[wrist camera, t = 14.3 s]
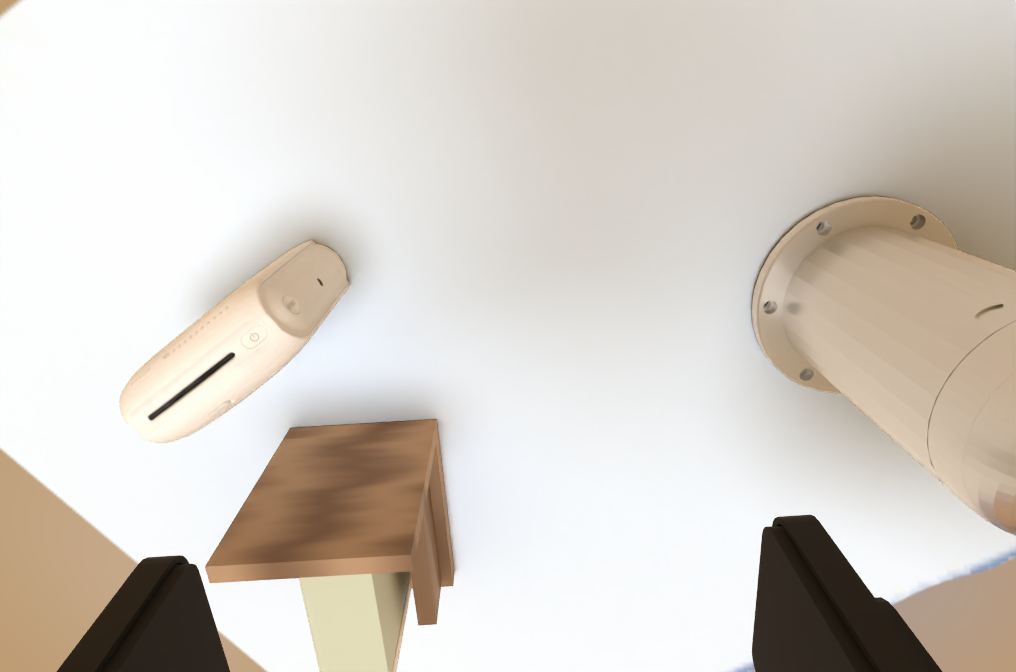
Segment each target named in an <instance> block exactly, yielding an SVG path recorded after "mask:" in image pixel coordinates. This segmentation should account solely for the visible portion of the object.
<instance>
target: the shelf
mask: <svg viewBox="0 0 1016 672" xmlns="http://www.w3.org/2000/svg"><path fill="white" fill-rule="evenodd" d="M205 568H206V572H207V575H208V578H209V582H210V583H219V582H236V581H253V580H271V579H288V578H305V577H323V576H340V575H357V574H375V573H392V572H409V571H410V574H411V580H412V585H411V588H413V591H414V598H415V605H416V612H417V618H418V625H431V624H436V623H437V615H438V606H439V598H440V589H441V587H444V586H453V581H454V563H453V555H452V546H451V538H450V529H449V521H448V512H447V503H446V495H445V486H444V478H443V469H442V461H441V452H440V443H439V435H438V426H437V419H430V420H414V421H397V422H381V423H364V424H348V425H331V426H315V427H298V428H290V429H289V431H288V432H287V434H286V436H285V437H284V439H283V441H282V442H281V444H280V446H279V447H278V449H277V450H276V452H275V454H274V455H273V457H272V459H271V460H270V462H269V463H268V465H267V467H266V468H265V470H264V472H263V473H262V475H261V476H260V478H259V480H258V481H257V483H256V485H255V486H254V488H253V489H252V491H251V493H250V494H249V496H248V498H247V499H246V501H245V503H244V504H243V506H242V507H241V509H240V511H239V512H238V514H237V516H236V517H235V519H234V520H233V522H232V524H231V525H230V527H229V529H228V530H227V532H226V533H225V535H224V537H223V538H222V540H221V542H220V543H219V545H218V547H217V548H216V550H215V551H214V553H213V555H212V556H211V558H210V560H209V561H208V563H207V564H206V566H205Z"/></svg>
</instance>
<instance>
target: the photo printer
mask: <svg viewBox="0 0 1016 672" xmlns="http://www.w3.org/2000/svg"><path fill="white" fill-rule="evenodd" d="M346 276H347V274H346V269H345V266H344V264H343V262H342V260H341V259H340V257H339V256H338V255H337V254H336V253H335V252H334V251H333V250H331V249H330V248H328V247H326V246H324V245H321V244H315V242H314V241H313V240H310V241H307V242H305V243H303V244H300V245H299V246H297V247H295V248H293V249H291V250H290V251H288V252H287V253H285V254H284V255H282V256H281V257H280V258H278V259H277V260H275V261H274V262H273V263H271V264H270V265H268V266H267V267H266V268H264V269H263V270H261V271H260V272H259V273H257V274H256V275H255V276H253V277H252V278H251V279H249V280H248V281H247V282H245V283H244V284H242V285H241V286H240V287H239V288H237V289H236V290H235V291H233V292H232V293H231V294H230V295H228V296H227V297H226V298H225V299H223V300H222V301H221V302H220V303H218V304H217V305H216V306H215V307H213V308H212V309H211V310H210V311H209V312H207V313H206V314H205V315H204V316H202V317H201V318H200V319H199V320H197V321H196V322H195V323H194V324H192V325H191V326H190V327H189V328H187V329H186V330H185V331H184V332H182V333H181V334H180V335H179V336H177V337H176V338H175V339H174V340H173V341H171V342H170V343H169V344H168V345H166V346H165V347H164V348H163V349H162V350H160V351H159V352H158V353H157V354H156V355H155V356H153V357H152V358H151V359H150V360H149V361H148V362H147V363H145V364H144V365H143V366H142V367H141V368H140V369H139V370H138V371H137V372H136V373H135V374H134V375H133V377H132V378H131V379H130V380H129V382H128V383H127V385H126V386H125V388H124V390H123V391H122V394H121V396H120V410H121V414H122V416H123V419H124V421H125V422H126V423H128V424H129V425H131V426H133V427H134V428H135V429H136V430H137V431H138V432H139V434H140V435H141V437H142V438H143V439H145V440H148V441H151V442H156V443H167V442H171V441H175V440H178V439H180V438H183V437H186V436H189V435H191V434H193V433H195V432H197V431H198V430H200V429H202V428H203V427H205V426H206V425H208V424H209V423H211V422H212V421H214V420H215V419H217V418H218V417H220V416H221V415H223V414H224V413H226V412H227V411H229V410H230V409H231V408H233V407H234V406H236V405H237V404H238V403H240V402H241V401H242V400H244V399H245V398H246V397H248V396H249V395H250V394H252V393H253V392H254V391H255V390H257V389H258V388H259V387H260V386H262V385H263V384H264V383H265V382H267V381H268V380H269V379H270V378H272V377H273V376H274V375H275V374H276V373H278V372H279V371H280V370H281V369H282V368H283V367H284V366H285V365H287V364H288V362H290V360H291V359H292V358H293V357H294V356H296V355H297V354H298V352H299V351H300V350H301V349H302V348H303V347H304V346H305V345H306V343H307V342H308V341H309V339H310V338H311V337H312V335H313V334H314V333H315V331H316V330H317V329H318V327H319V326H320V325H321V323H322V322H323V321H324V319H325V318H326V317H327V315H328V314H329V313H330V311H331V310H332V309H333V307H334V306H335V305H336V303H337V302H338V301H339V299H340V298H341V297H342V296H343V294H344V293H345V292H346V290H347V289H348V287H349V285H350V283H349V282H348V281H347V279H346Z"/></svg>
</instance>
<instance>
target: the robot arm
mask: <svg viewBox="0 0 1016 672" xmlns="http://www.w3.org/2000/svg"><path fill="white" fill-rule="evenodd" d="M911 220H912V221H911ZM820 222H821V225H820V227H819V228H818V229H816V228H817V226H818V224H819V223H820ZM766 302H768V304H767V305H766V306H764V304H765V303H766ZM752 319H753V327H754V331H755V334H756V337H757V341H758V343H759V345H760V346H761V348H762V350H763V352H764V354H765V355H766V357H767V358H768V359H769V360H770V361H771V362H772V363H773V365H774V366H775V367H776V368H777V369H779V370H780V371H781V372H782V373H783V374H784V375H785V376H786V377H788V378H789V379H791V380H793V381H794V382H796V383H798V384H799V385H802V386H805V387H808V388H811V389H814V390H817V391H823V392H832V393H842V394H843V395H845V396H846V397H847V398H848V399H849V400H850V401H851V402H852V403H853V404H855V405H856V406H857V407H858V408H859V409H860V410H861V411H862V412H863V413H865V414H866V415H867V416H868V417H869V418H870V419H871V420H872V421H873V422H875V423H876V424H877V425H878V426H879V427H880V428H881V429H882V430H883V431H885V432H886V433H887V434H888V435H889V436H890V437H891V438H892V439H893V440H895V441H896V442H897V443H898V444H899V445H900V446H901V447H902V448H903V449H905V450H906V451H907V452H908V453H909V454H910V455H911V456H912V457H913V458H914V459H916V460H917V461H918V462H919V463H920V464H921V465H922V466H923V467H924V468H926V469H927V470H928V471H929V472H930V473H931V474H932V475H933V476H934V477H936V478H937V479H938V480H939V481H940V482H941V483H942V484H943V485H944V486H946V487H947V488H948V489H949V490H950V491H951V492H952V493H953V494H954V495H956V496H957V497H958V498H959V499H960V500H961V501H962V502H963V503H965V504H966V505H967V506H968V507H969V508H970V509H972V510H973V511H974V512H976V513H977V514H978V515H980V516H981V517H982V518H984V519H985V520H986V521H988V522H990V523H991V524H993V525H995V526H997V527H998V528H1000V529H1002V530H1004V531H1006V532H1008V533H1011V534H1013V535H1016V271H1014V270H1012V269H1009V268H1006V267H1003V266H1001V265H998V264H995V263H992V262H989V261H987V260H984V259H981V258H978V257H976V256H973V255H970V254H967V253H964V252H962V251H959V249H958V246H957V244H956V242H955V239H954V237H953V236H952V234H951V233H950V232H949V230H948V229H947V228H946V226H945V225H944V224H943V223H942V222H941V221H940V220H939V219H937V218H936V217H935V216H934V215H933V214H931V213H930V212H929V211H927V210H925V209H923V208H921V207H918V206H916V205H914V204H912V203H909V202H905V201H902V200H898V199H894V198H886V197H879V196H872V197H857V198H852V199H848V200H845V201H841V202H837V203H834V204H832V205H830V206H827V207H825V208H823V209H820V210H818V211H816V212H815V213H813V214H812V215H810V216H808V217H807V218H805V219H804V220H802V221H801V222H799V223H798V224H797V225H796V226H795V227H794V228H793V229H791V230H790V231H789V232H788V233H787V234H786V235H785V236H784V237H783V238H782V239H781V240H780V242H779V243H778V244H777V245H776V247H775V248H774V249H773V250H772V252H771V253H770V254H769V256H768V258H767V260H766V262H765V264H764V266H763V267H762V269H761V271H760V274H759V277H758V280H757V283H756V286H755V289H754V295H753V302H752ZM752 657H753V663H754V667H755V671H756V672H942V671H941V669H940V668H939V667H938V665H937V664H936V663H935V661H934V660H933V659H932V657H931V656H930V655H929V653H928V652H927V651H926V650H925V648H924V647H923V645H922V644H921V643H920V641H919V640H918V639H917V638H916V636H915V635H914V633H913V632H912V631H911V629H910V628H909V627H908V625H907V624H906V623H905V621H904V620H903V619H902V617H901V616H900V615H899V613H898V612H897V611H896V609H895V608H894V607H893V606H892V605H891V604H890V603H889V602H888V601H886V600H884V599H883V598H874V596H873V595H872V594H871V592H870V591H869V589H868V588H867V587H866V585H865V584H864V583H863V581H862V580H861V578H860V577H859V576H858V574H857V573H856V572H855V570H854V569H853V567H852V566H851V565H850V563H849V562H848V561H847V559H846V558H845V556H844V555H843V554H842V552H841V551H840V550H839V548H838V547H837V545H836V544H835V543H834V541H833V540H832V539H831V537H830V536H829V534H828V533H827V532H826V530H825V529H824V528H823V526H822V525H821V523H820V522H819V521H818V520H817V519H816V517H815V516H812V515H801V516H785V517H777V518H775V519H774V521H773V525H772V527H765V528H764V529H763V533H762V543H761V554H760V565H759V577H758V588H757V599H756V610H755V622H754V633H753V644H752ZM57 672H230V670H229V667H228V664H227V660H226V657H225V654H224V651H223V647H222V644H221V641H220V638H219V635H218V631H217V628H216V625H215V622H214V618H213V615H212V612H211V609H210V606H209V602H208V599H207V596H206V593H205V589H204V586H203V583H202V580H201V577H200V573H199V570H198V568H197V566H196V565H194V564H189V563H188V561H187V559H186V558H185V557H184V556H165V557H149V558H146V559H143V560H142V561H141V562H140V563H139V564H138V565H137V567H136V568H135V569H134V571H133V572H132V573H131V575H130V576H129V577H128V578H127V580H126V581H125V583H124V584H123V585H122V587H121V588H120V589H119V590H118V592H117V593H116V594H115V596H114V597H113V598H112V600H111V601H110V602H109V604H108V605H107V606H106V607H105V609H104V610H103V612H102V613H101V614H100V615H99V617H98V618H97V619H96V621H95V622H94V623H93V624H92V626H91V627H90V629H89V630H88V631H87V632H86V634H85V635H84V636H83V638H82V639H81V640H80V642H79V643H78V644H77V646H76V647H75V648H74V650H73V651H72V652H71V653H70V655H69V656H68V657H67V659H66V660H65V661H64V663H63V664H62V665H61V667H60V668H59V669H58V671H57Z"/></svg>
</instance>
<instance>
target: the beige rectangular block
mask: <svg viewBox="0 0 1016 672" xmlns="http://www.w3.org/2000/svg"><path fill="white" fill-rule="evenodd" d="M299 581H300V586H301V590H302V595H303V599H304V603H305V608H306V612H307V617H308V621H309V626H310V630H311V635H312V639H313V644H314V648H315V653H316V657H317V662H318V666H319V670H320V672H396V670H397V664H398V659H399V653H400V647H401V642H402V636H403V630H404V625H405V619H406V614H407V608H408V602H409V597H410V591H411V585H412V580H411V574H410V571H409V572H392V573H375V574H357V575H340V576H323V577H305V578H299Z"/></svg>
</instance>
